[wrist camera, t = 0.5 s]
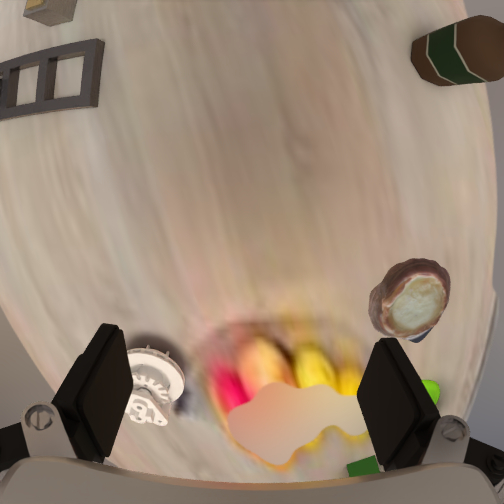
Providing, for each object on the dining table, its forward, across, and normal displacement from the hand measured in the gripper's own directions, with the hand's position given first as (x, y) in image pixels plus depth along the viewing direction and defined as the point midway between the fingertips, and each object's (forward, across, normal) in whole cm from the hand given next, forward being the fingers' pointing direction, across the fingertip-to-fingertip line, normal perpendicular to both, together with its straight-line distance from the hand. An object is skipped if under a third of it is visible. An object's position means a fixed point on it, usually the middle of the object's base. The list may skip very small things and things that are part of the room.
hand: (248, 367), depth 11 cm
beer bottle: (+30, -23, -22) cm, 44 cm away
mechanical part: (+30, +14, +28) cm, 43 cm away
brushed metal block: (+30, +28, -27) cm, 49 cm away
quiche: (+31, -27, +14) cm, 43 cm away
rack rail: (+30, +32, -16) cm, 46 cm away
